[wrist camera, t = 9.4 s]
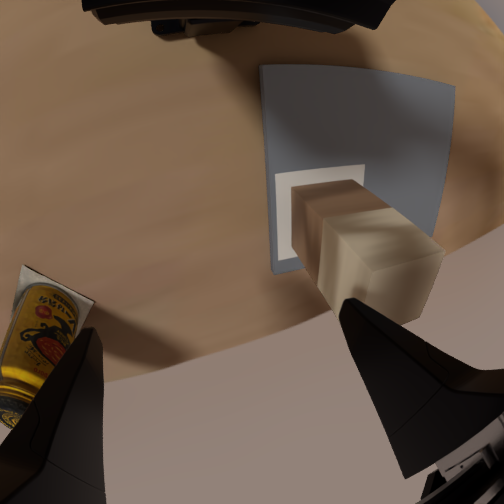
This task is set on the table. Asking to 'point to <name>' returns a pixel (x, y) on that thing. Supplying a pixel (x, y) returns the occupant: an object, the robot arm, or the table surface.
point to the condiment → (36, 339)
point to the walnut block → (324, 214)
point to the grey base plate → (353, 141)
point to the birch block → (378, 263)
